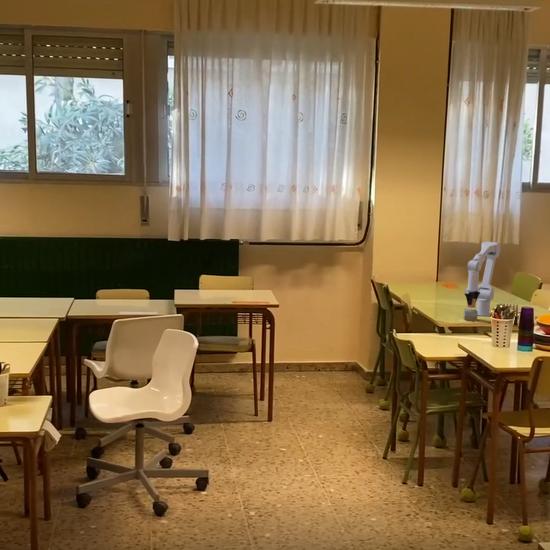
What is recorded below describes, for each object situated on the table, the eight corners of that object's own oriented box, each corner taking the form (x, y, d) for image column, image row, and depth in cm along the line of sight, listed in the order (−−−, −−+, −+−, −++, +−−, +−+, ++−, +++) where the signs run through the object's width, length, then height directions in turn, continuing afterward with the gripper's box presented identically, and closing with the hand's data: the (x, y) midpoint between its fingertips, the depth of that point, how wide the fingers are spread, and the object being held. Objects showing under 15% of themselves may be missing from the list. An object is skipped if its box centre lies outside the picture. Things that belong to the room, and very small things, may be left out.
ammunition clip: (517, 324, 393) (518, 304, 391) (517, 325, 391) (519, 304, 389) (497, 323, 395) (499, 302, 393) (497, 324, 393) (499, 303, 391)
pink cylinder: (467, 305, 404) (467, 298, 403) (475, 306, 403) (475, 298, 402) (467, 307, 400) (468, 299, 399) (475, 307, 399) (476, 300, 398)
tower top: (463, 313, 406) (464, 308, 406) (476, 314, 405) (476, 309, 405) (464, 316, 400) (465, 311, 399) (477, 317, 398) (477, 311, 398)
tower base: (463, 318, 407) (464, 313, 406) (476, 319, 405) (476, 314, 405) (464, 321, 400) (464, 316, 399) (476, 322, 398) (477, 317, 398)
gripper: (472, 279, 407) (471, 301, 409) (460, 281, 396) (459, 305, 398) (484, 280, 402) (482, 303, 404) (472, 283, 391) (470, 307, 394)
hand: (471, 304), depth 401 cm, fingers closed on pink cylinder, 4 cm apart
